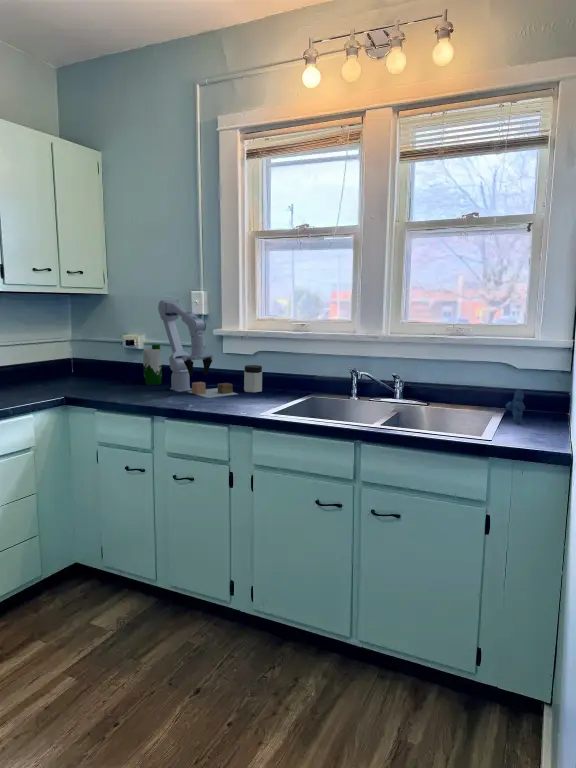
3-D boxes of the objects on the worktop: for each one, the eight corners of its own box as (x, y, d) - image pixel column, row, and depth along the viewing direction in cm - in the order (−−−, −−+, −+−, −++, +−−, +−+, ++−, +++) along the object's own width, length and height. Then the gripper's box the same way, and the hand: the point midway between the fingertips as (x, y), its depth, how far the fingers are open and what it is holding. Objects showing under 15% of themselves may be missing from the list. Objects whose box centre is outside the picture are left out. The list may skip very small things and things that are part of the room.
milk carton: (162, 384, 275) (161, 345, 272) (144, 385, 273) (142, 346, 270) (161, 382, 284) (160, 344, 281) (143, 382, 281) (142, 344, 278)
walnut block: (217, 392, 251) (217, 383, 250) (227, 391, 254) (226, 382, 253) (223, 393, 247) (223, 385, 246) (232, 392, 250) (232, 384, 249)
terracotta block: (192, 393, 248) (191, 382, 247) (201, 392, 251) (200, 381, 250) (196, 394, 245) (196, 383, 244) (205, 393, 247) (205, 382, 247)
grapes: (504, 418, 199) (506, 386, 197) (524, 420, 196) (527, 387, 194) (503, 425, 188) (505, 391, 186) (524, 427, 185) (526, 392, 183)
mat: (187, 392, 253) (187, 391, 253) (216, 388, 262) (216, 388, 262) (208, 398, 237) (208, 397, 237) (238, 394, 247) (238, 393, 247)
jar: (243, 389, 259) (243, 364, 257) (259, 389, 261) (260, 364, 258) (245, 393, 250) (245, 367, 248) (262, 392, 252) (263, 367, 250)
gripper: (187, 347, 237) (188, 377, 239) (216, 345, 245) (216, 374, 248) (180, 346, 242) (181, 376, 244) (208, 344, 251) (209, 373, 253)
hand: (198, 375), depth 246 cm, fingers open, 7 cm apart
